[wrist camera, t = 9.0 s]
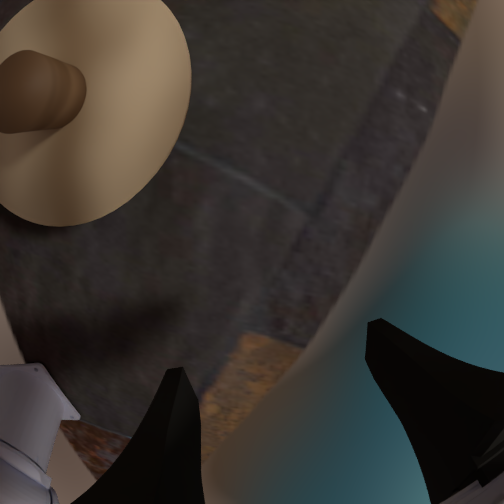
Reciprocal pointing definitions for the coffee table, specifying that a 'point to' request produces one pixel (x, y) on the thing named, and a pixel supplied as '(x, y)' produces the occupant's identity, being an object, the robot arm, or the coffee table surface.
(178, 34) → the lid
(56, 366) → the coffee table surface
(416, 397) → the robot arm
